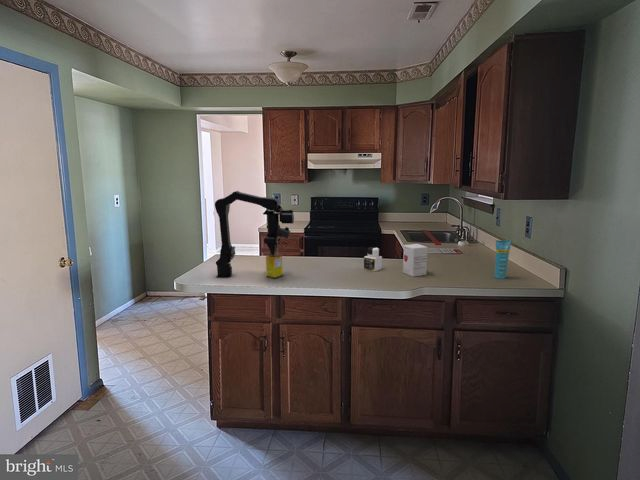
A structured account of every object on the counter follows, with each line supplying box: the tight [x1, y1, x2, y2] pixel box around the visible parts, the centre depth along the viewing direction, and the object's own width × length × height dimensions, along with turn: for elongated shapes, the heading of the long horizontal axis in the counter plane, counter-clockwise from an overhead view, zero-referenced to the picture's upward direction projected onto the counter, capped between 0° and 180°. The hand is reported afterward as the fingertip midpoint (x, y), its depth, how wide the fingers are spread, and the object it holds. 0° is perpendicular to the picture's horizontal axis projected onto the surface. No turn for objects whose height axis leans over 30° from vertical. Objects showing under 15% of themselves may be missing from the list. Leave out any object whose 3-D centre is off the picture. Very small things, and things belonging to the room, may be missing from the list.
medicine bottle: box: [363, 246, 383, 272], centre depth 222 cm, size 7×7×12 cm
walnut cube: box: [268, 246, 280, 257], centre depth 207 cm, size 4×4×4 cm
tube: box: [494, 239, 512, 280], centre depth 205 cm, size 7×5×19 cm, turn 92°
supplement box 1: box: [265, 254, 283, 279], centre depth 209 cm, size 6×6×11 cm
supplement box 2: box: [402, 243, 429, 278], centre depth 213 cm, size 9×9×15 cm
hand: (273, 253), depth 207 cm, fingers closed on walnut cube, 4 cm apart
